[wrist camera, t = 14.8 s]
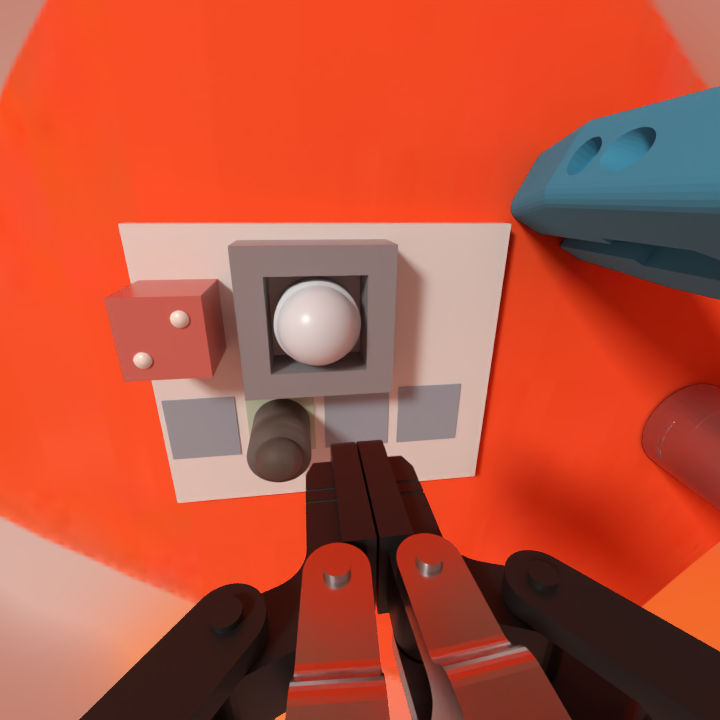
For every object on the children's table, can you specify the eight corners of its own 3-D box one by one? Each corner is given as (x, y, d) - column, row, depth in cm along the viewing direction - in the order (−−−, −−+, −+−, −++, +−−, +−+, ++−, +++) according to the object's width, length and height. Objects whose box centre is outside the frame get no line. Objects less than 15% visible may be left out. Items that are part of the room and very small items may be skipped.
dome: (355, 273, 27) (367, 289, 22) (355, 349, 29) (366, 379, 24) (272, 274, 26) (266, 292, 22) (278, 353, 28) (274, 384, 24)
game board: (503, 222, 29) (512, 223, 28) (469, 467, 37) (475, 476, 36) (126, 222, 26) (117, 223, 24) (181, 493, 34) (177, 503, 33)
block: (644, 215, 30) (1167, 242, 12) (603, 274, 32) (1017, 379, 13) (526, 130, 27) (1012, -13, 9) (486, 200, 28) (832, 205, 10)
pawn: (309, 397, 31) (311, 440, 25) (310, 445, 32) (312, 495, 27) (251, 399, 30) (240, 444, 25) (255, 448, 32) (246, 500, 26)
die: (217, 278, 27) (200, 296, 22) (226, 348, 28) (212, 378, 24) (138, 280, 26) (103, 298, 21) (152, 351, 28) (123, 382, 23)
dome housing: (386, 239, 27) (398, 244, 24) (382, 371, 31) (391, 392, 28) (236, 239, 26) (227, 246, 23) (251, 378, 30) (245, 400, 26)
